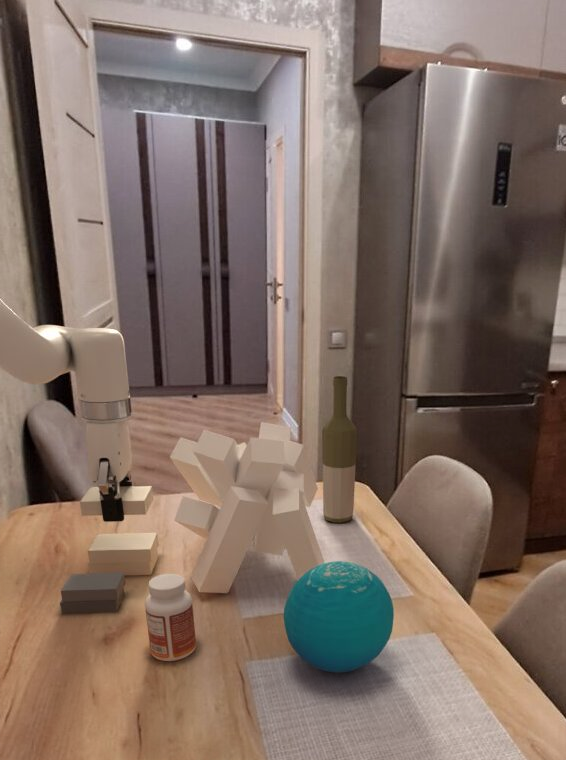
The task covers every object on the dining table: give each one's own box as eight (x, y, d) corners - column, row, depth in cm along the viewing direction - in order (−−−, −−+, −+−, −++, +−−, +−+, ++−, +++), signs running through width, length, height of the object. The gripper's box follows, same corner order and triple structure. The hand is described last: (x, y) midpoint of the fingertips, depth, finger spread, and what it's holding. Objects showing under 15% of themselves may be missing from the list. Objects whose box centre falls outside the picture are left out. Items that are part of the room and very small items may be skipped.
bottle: (335, 528, 137) (336, 382, 126) (315, 517, 142) (315, 376, 130) (361, 520, 142) (365, 378, 130) (341, 510, 146) (343, 372, 135)
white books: (89, 577, 113) (85, 550, 111) (99, 558, 119) (96, 533, 118) (153, 575, 115) (150, 549, 113) (160, 557, 121) (157, 532, 119)
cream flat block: (81, 515, 109) (79, 501, 108) (92, 500, 115) (90, 486, 114) (145, 514, 110) (144, 500, 110) (153, 499, 117) (151, 486, 116)
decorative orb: (413, 667, 94) (420, 572, 88) (328, 711, 84) (329, 607, 78) (346, 622, 104) (348, 534, 98) (263, 657, 94) (260, 562, 88)
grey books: (61, 614, 102) (57, 591, 100) (72, 596, 107) (68, 573, 105) (119, 612, 103) (116, 589, 102) (126, 594, 108) (124, 572, 107)
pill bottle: (196, 636, 98) (191, 569, 94) (195, 660, 93) (190, 590, 88) (152, 640, 97) (144, 572, 92) (148, 665, 91) (140, 593, 87)
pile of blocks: (151, 563, 130) (78, 431, 103) (272, 481, 143) (235, 345, 116) (258, 678, 114) (204, 557, 87) (384, 574, 126) (372, 440, 99)
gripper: (95, 396, 114) (108, 494, 120) (64, 422, 98) (81, 533, 105) (141, 397, 115) (151, 493, 122) (118, 422, 99) (132, 532, 106)
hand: (119, 511), depth 113 cm, fingers closed on cream flat block, 7 cm apart
